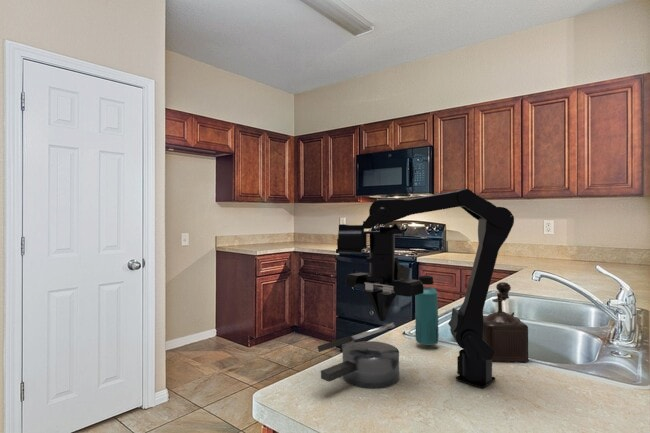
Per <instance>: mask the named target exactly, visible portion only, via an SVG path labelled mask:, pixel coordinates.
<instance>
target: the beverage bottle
mask: <svg viewBox="0 0 650 433" xmlns="http://www.w3.org/2000/svg"><path fill="white" fill-rule="evenodd" d="M418 280H420V281H421V282H422V284H423V291H424V293H422V294H418V295H414V297H415V298H414V299H415V300H414V301H415V303H414V304H415V306H414V307H415V309H414V311H415V312H414V323H415V330H414V332H415V334H414V336H415V338H414V340H416V343H418V344H421V345H426V346H427V345H429V346H430V345H436V344H438V343H439V339H440V338H439V337H440V335H439V322H440V321H439V306H438V301H439V300H438V295H439V293H438V291H437V290H436V289H435V288H434V287H430V286H431V285H434V277H433V276H431V275H420V276H418ZM426 285H427V286H426ZM429 285H430V286H429Z"/></svg>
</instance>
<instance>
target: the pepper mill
mask: <svg viewBox="0 0 650 433" xmlns="http://www.w3.org/2000/svg"><path fill="white" fill-rule="evenodd" d="M495 287H496V290H497V292H498V293H496V294H497V295H496V296H497V297H496V298H492V299H491V301H492V302H493V303H497V307H498V308H497V309H498V310H497V311H496V312H492V313H489V314H488V315H483V319H484V333H483V338H484V340H485V341H486V342H487V343H488V344H489V345H490V347H491V348H492V349H493V350H494V354H493V357H492V363H514V364H515V363H522V364H526V363H529V362H530V360H529V326H528V325H527V324H526V323H524V322H523V321H521V319H520V318H519V317H517V316H514V315H515V312H512V313H511V314H510V313H507V312H506V311H504V310H503V304H502V303H503V301H506V300H507V299H510V296H509V292H510V291H511V289H512V287H511V285H510V284H509V283H508V282H504V281H503V282H501V281H500V282H499V283H497V284H496V286H495Z"/></svg>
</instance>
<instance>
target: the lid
mask: <svg viewBox="0 0 650 433" xmlns="http://www.w3.org/2000/svg"><path fill="white" fill-rule="evenodd" d="M395 327H396V325H395V323H394V322H391V323H388V324H385V325H381V326H379V327H376V328H372V329H370V330H366V331H363V332H360V333H358V334H355V335H349V336H345V337H342V338H339V339H335V340H333V341H330V342H326V343H324V344H323V343H322V344H320V345H318V346H317V350H318V352H319V353H320V352H323V351H327V350H330V349H334V348H335V347H339V346H342V344H345V343H348V342H351V341H354V342H355V341H358V340H359V339H360V340H361V339H362V338H366V337H369V336H372V335H375V334H378V333H381V332H384V331H387V330H389V329H390V330H391V329H393V328H395Z"/></svg>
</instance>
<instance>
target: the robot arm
mask: <svg viewBox="0 0 650 433" xmlns="http://www.w3.org/2000/svg"><path fill="white" fill-rule="evenodd" d="M454 208H461V209H463V210H464V211H465V212H466V213H467V214H468V215H470V216H471V217H472V218H474V219H475V220H477V221H478V224H477V238H478V245H477V250H476V253H475V258H474V260H473V264H472V268H471V272H470V277H469V279H468V283H467V288H466V291H465V296H464V300H463V303H462V304H461V305H460V307H459V309H457V308H455V307H452V310H451V318H450V319H449V322H448V323H447V324H448V325H449V327H450V328H449V330H450V333H451V335H452V337H453V338H454V340H455V342H456V343H457V345H458V346H459V347H460V348H461V349H460V350H458V356H457V357H456V358H457V359H456V360H457V361H456V362H457V363H456V365H457V366H456V367H457V375H456V377H455V380H456V381H457V382H458V381H459V382H462V383H464V384H468V385H471V386H474V387H477V388H480V389H485V388H486V387H488V386H489V385H491V384H492V383H493V382H495V381H496V377H494V376H493V362H492V357H493V354H494V350H493V349H492V348H491V347H490V345H489V344H488V343H487V342H486V341H485V340H484V338H483V333H484V319H483V316H484V308H485V304H486V301H487V300H486V299H487V296H488V292H489V288H490V286H491V281H492V278H493V273H494V269H495V266H496V262H497V258H498V255H499V251H500V249H501V247H502V246H503V245H504V243H505V242H506V240H507V239H508V237H509V235H510V233H511V230H512V228H513V227H514V225H515V224H514V223H515V216H514V215H513V213H512V211H511V210H510V209H508V208H507V207H504V206H496V205H495V204H494V203H492V202H491V201H488V200H486V199H485V198H483V197H481V196H480V195H478V194H476V193H474V192H473V191H472V190H471V189H469V188H461V189H458V190H454V191H450V192H443V193H438V194H432V195H426V196H420V197H415V198H414V197H413V198H408V199H407V198H379V199H376V200H375V201H373V202H372V203H371V205H370V206H369V209H368V210H369V211H368V212H369V215H368V217H367V218H366V219H365V220H363V221H362V224H351V225H350V224H345V223H343V224H338V232H337V233H338V234H337V240H336V244H337V245H336V246H337V253H338V254H363V251H364V250H367V249H368V247H367V246H368V243H367V242H368V238H367V237H368V236H367V235H369V257H366V259H365V262H366V263H369V273H367V272H355V273H349V274H347V276H346V277H345V287H349V288H355V287H357V286H358V285H364V286H365V289H363V290H362V292H363V293H364V294H366V296H367V298H368V300H369V301H370V304H371V305H372V306H373V310H374V312H375V313H376V315H377V316H378V317H377V318H378V320H379V321H380V322H386V321H387V320H386V319H387V316H388V314H389V312H390V307H391V305H392V303H393V301H394V299H395V298H396V297H397V296H401V297H407V298H408V297H415V295H418V294H422V293H424V291H423V287H424V284H422V282H421V281H420V280H419V279H411V278H410V276H411V275H410V274H411V268H409V267H407V266H405V265H403V264H400V259H399V257H398V256H397V257H396V256H395V255H396V254H395V253H396V250H395V247H396V246H395V245H396V244H395V235H403V233H404V231H403V230H402V229H401V228H400V227H399V226H398V224H397V223H393V225H392V226H378V228H379V230H376V231H375V230H371V229H373V228H374V227H376V226H377V225H386V224H388V223H392V222H395V221H398V220H401V219H403V218H406V217H408V216H412V215H415V214H423V213H429V212H435V211H440V210H447V209H454ZM365 230H366V231H365ZM367 230H368V231H367ZM370 230H371V231H370Z"/></svg>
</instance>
